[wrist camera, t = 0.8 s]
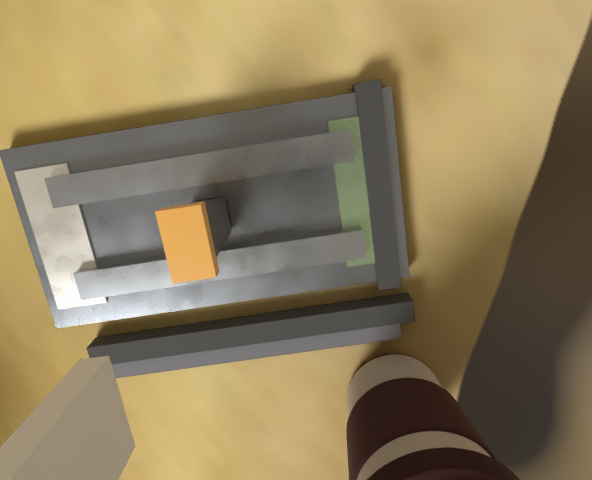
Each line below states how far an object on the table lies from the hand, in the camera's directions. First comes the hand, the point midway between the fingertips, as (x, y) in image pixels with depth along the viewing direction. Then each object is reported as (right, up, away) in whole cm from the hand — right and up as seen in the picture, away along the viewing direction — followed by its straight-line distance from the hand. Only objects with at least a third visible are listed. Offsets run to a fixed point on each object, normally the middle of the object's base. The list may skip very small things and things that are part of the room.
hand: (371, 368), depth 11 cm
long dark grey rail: (-5, -3, +23) cm, 23 cm away
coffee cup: (+6, -9, +24) cm, 27 cm away
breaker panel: (-8, +5, +20) cm, 22 cm away
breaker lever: (-8, +5, +19) cm, 21 cm away
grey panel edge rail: (+4, +7, +20) cm, 21 cm away
